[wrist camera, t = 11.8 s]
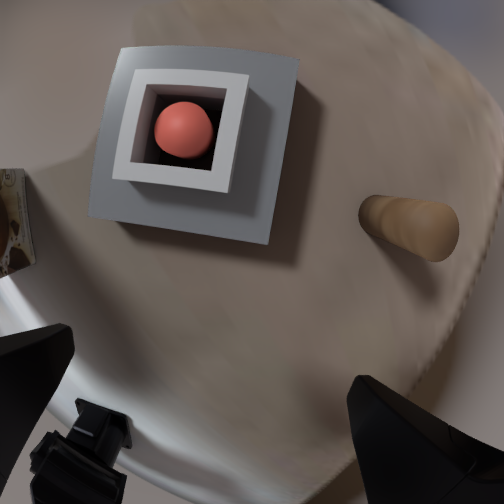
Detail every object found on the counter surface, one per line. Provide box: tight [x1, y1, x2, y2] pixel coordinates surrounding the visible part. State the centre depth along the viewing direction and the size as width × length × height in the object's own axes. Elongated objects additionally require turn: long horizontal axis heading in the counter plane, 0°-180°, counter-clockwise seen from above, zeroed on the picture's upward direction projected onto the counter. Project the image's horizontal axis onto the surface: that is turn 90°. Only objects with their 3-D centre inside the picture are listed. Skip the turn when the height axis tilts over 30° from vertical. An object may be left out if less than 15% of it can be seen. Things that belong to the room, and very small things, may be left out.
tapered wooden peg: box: [358, 195, 459, 262], centre depth 16 cm, size 3×3×8 cm
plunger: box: [154, 102, 215, 160], centre depth 16 cm, size 3×3×3 cm
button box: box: [88, 46, 300, 245], centre depth 16 cm, size 12×12×5 cm
